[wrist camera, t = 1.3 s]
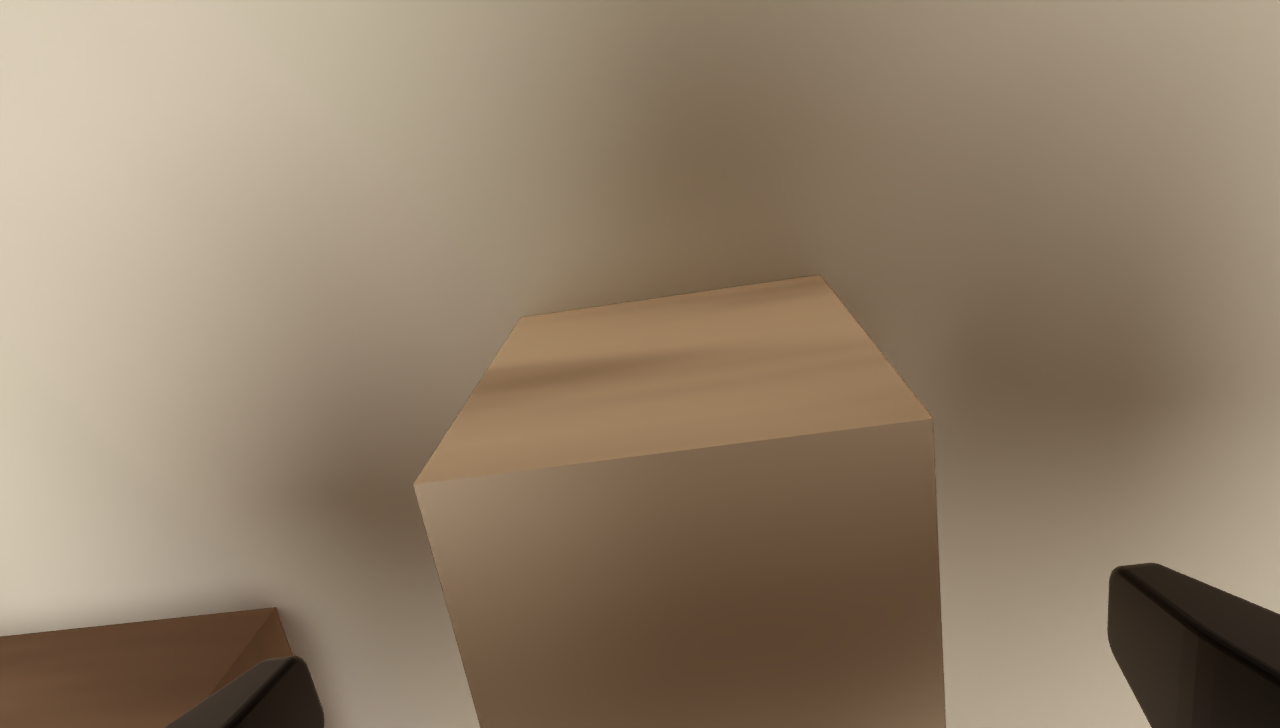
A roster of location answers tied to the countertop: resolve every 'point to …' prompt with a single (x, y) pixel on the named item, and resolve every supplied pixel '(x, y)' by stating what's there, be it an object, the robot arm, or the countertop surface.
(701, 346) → the maple block
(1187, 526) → the countertop surface
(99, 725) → the walnut block
